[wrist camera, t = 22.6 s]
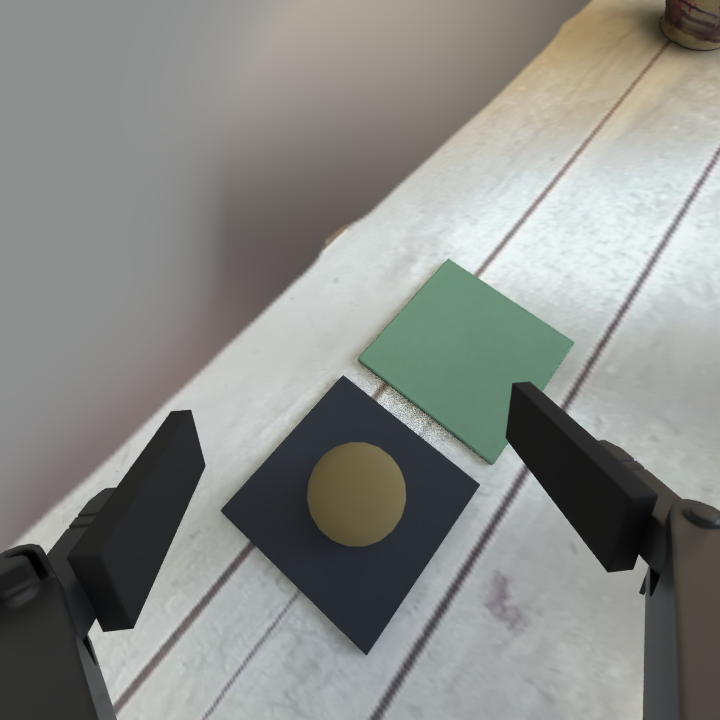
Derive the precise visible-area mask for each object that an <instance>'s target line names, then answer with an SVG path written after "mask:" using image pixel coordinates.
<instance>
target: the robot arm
mask: <svg viewBox="0 0 720 720" xmlns="http://www.w3.org/2000/svg"><path fill="white" fill-rule="evenodd" d="M505 438H506V439H507V441H508V442H509V443H510V445H511V446H512V447H513V449H514V450H515V451H516V453H517V454H518V455H519V457H520V458H521V459H522V460H523V462H524V463H525V464H526V466H527V467H528V468H529V470H530V471H531V472H532V474H533V475H534V476H535V478H536V479H537V480H538V482H539V483H540V484H541V485H542V487H543V488H544V489H545V491H546V492H547V493H548V495H549V496H550V497H551V499H552V500H553V501H554V503H555V504H556V505H557V506H558V508H559V509H560V510H561V512H562V513H563V514H564V516H565V517H566V518H567V520H568V521H569V522H570V524H571V525H572V526H573V528H574V529H575V530H576V531H577V533H578V534H579V535H580V537H581V538H582V539H583V541H584V542H585V543H586V545H587V546H588V547H589V549H590V550H591V551H592V552H593V554H594V555H595V556H596V558H597V559H598V560H599V562H600V563H601V564H602V566H603V567H604V568H605V570H606V571H607V572H617V571H625V570H633V569H634V566H635V563H636V560H637V557H638V554H639V555H640V556H641V557H642V558H643V559H644V560H645V562H646V563H647V564H648V565H649V567H648V570H647V573H646V576H645V578H644V581H643V584H642V587H641V589H640V592H639V593H640V594H642V595H644V594H645V592H646V595H645V643H644V691H643V720H720V511H719V510H717V509H715V508H714V507H712V506H709V505H707V504H704V503H702V502H698V501H694V500H689V499H681V498H680V497H679V496H678V495H677V494H675V493H674V492H673V491H672V490H671V489H669V488H668V487H667V486H666V485H665V484H663V483H662V482H661V481H660V480H659V479H657V478H656V477H655V476H654V475H653V474H652V473H650V472H649V471H648V470H647V469H646V470H645V469H644V467H643V466H642V465H641V464H640V463H638V462H637V461H634V458H632V457H631V456H630V455H629V454H628V453H626V452H625V451H624V450H623V449H622V448H620V447H618V446H616V445H614V444H612V443H610V442H608V441H606V440H600V441H597V440H596V439H595V438H594V437H593V436H591V435H590V434H589V433H588V432H587V431H586V430H585V429H583V428H582V427H581V426H580V425H579V424H578V423H577V422H576V421H574V420H573V419H572V418H571V417H570V416H569V415H568V414H566V413H565V412H564V411H563V410H562V409H561V408H560V407H559V406H557V405H556V404H555V403H554V402H553V401H552V400H551V399H549V398H548V397H547V396H546V395H545V394H544V393H543V392H542V391H540V390H539V389H538V388H537V387H536V386H535V385H534V384H532V383H531V382H530V381H528V382H516V383H512V389H511V397H510V405H509V413H508V421H507V429H506V437H505ZM204 468H205V462H204V458H203V454H202V450H201V446H200V442H199V438H198V434H197V431H196V427H195V423H194V419H193V415H192V411H191V410H182V411H171V412H170V414H169V415H168V417H167V418H166V419H165V421H164V422H163V424H162V425H161V426H160V428H159V429H158V431H157V432H156V433H155V435H154V436H153V437H152V439H151V440H150V442H149V443H148V444H147V446H146V447H145V449H144V450H143V451H142V453H141V454H140V456H139V457H138V458H137V460H136V461H135V463H134V464H133V465H132V467H131V468H130V469H129V471H128V472H127V474H126V475H125V476H124V478H123V479H122V481H121V482H120V483H119V485H118V486H117V488H106V489H104V490H102V491H101V492H100V493H98V494H97V495H96V496H95V497H93V498H92V499H91V500H89V501H88V503H87V504H86V505H85V507H84V508H83V509H82V510H81V512H80V513H79V514H78V517H76V518H75V519H74V521H73V522H72V523H71V525H70V526H69V529H67V530H66V531H65V532H64V533H63V535H62V536H61V537H60V539H59V540H58V541H57V542H56V544H55V545H54V546H53V548H52V549H51V550H50V551H49V553H48V554H47V555H46V554H45V552H44V550H43V549H42V548H41V547H40V546H39V545H35V544H26V545H21V546H17V547H14V548H12V549H9V550H7V551H4V552H3V553H1V554H0V720H117V718H116V715H115V712H114V709H113V706H112V703H111V700H110V697H109V694H108V691H107V688H106V685H105V682H104V679H103V676H102V672H101V669H100V666H99V663H98V660H97V657H96V654H95V651H94V648H93V645H92V642H91V640H90V638H89V636H88V632H89V630H90V628H91V626H92V625H93V623H94V621H95V619H96V618H97V620H98V622H99V624H100V626H101V628H102V630H103V632H108V631H116V630H125V629H133V628H134V626H135V624H136V622H137V619H138V617H139V615H140V613H141V610H142V608H143V606H144V604H145V601H146V599H147V597H148V595H149V592H150V590H151V588H152V586H153V583H154V581H155V579H156V577H157V574H158V572H159V570H160V567H161V565H162V563H163V561H164V558H165V556H166V554H167V552H168V549H169V547H170V545H171V543H172V540H173V538H174V536H175V534H176V531H177V529H178V527H179V525H180V522H181V520H182V518H183V516H184V513H185V511H186V509H187V507H188V504H189V502H190V500H191V498H192V495H193V493H194V491H195V489H196V486H197V484H198V482H199V480H200V477H201V475H202V473H203V471H204Z"/></svg>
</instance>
